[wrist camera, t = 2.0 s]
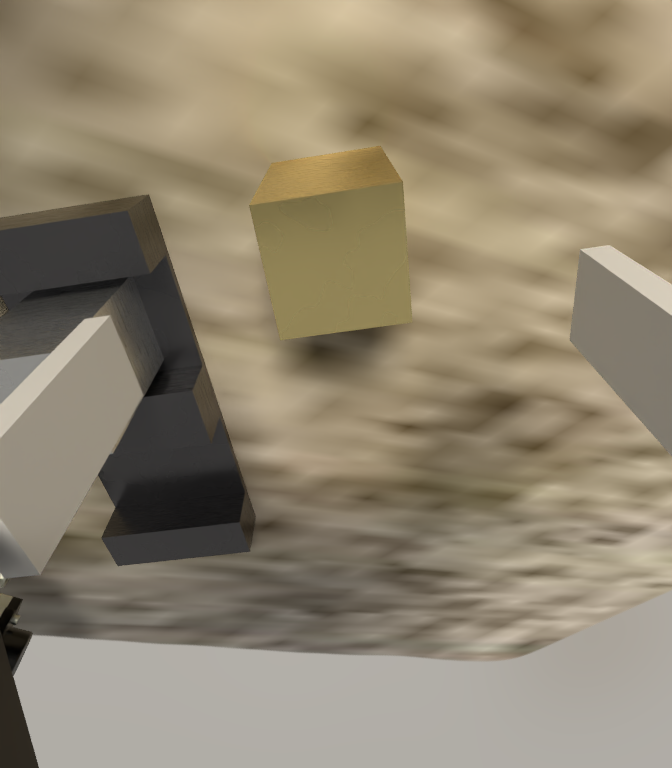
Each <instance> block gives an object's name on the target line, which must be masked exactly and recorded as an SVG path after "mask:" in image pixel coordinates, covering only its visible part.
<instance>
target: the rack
mask: <svg viewBox="0 0 672 768" xmlns="http://www.w3.org/2000/svg"><path fill="white" fill-rule="evenodd" d="M132 276H133V279H134V281H135V284H136V287H137V289H138V292H139V295H140V297H141V300H142V302H143V305H144V308H145V310H146V313H147V316H148V318H149V321H150V323H151V326H152V329H153V331H154V334H155V337H156V339H157V342H158V344H159V347H160V350H161V352H162V355H163V358H164V360H163V362H162V364H161V366H160V368H159V370H158V371H157V373H156V375H155V377H154V379H153V381H152V382H151V384H150V386H149V388H148V390H147V392H146V394H145V395H144V397H143V399H142V401H141V403H140V405H139V407H138V408H137V410H136V412H135V414H134V416H133V418H132V419H131V421H130V423H129V425H128V427H127V429H126V431H125V432H124V434H123V436H122V438H121V440H120V442H119V444H118V445H117V447H116V449H115V451H114V453H113V454H109V456H108V458H107V459H106V461H105V463H104V465H103V466H102V468H101V470H100V472H99V473H98V476H99V477H100V479H101V481H102V483H103V485H104V487H105V489H106V490H107V492H108V494H109V496H110V498H111V500H112V501H113V503H114V505H115V507H116V508H115V510H114V512H113V514H112V516H111V519H110V521H109V523H108V525H107V527H106V529H105V531H104V533H103V536H102V540H103V542H104V543H105V545H106V547H107V548H108V550H109V552H110V553H111V555H112V557H113V559H114V560H115V562H116V564H117V565H118V566H122V565H131V564H140V563H149V562H158V561H168V560H177V559H186V558H195V557H204V556H213V555H222V554H232V553H241V552H250V548H251V542H252V535H253V529H254V522H255V514H254V511H253V508H252V505H251V502H250V499H249V496H248V493H247V490H246V487H245V484H244V481H243V478H242V475H241V472H240V469H239V466H238V463H237V460H236V457H235V454H234V451H233V448H232V445H231V442H230V439H229V435H228V432H227V429H226V426H225V423H224V420H223V417H222V414H221V411H220V408H219V405H218V402H217V399H216V396H215V393H214V390H213V387H212V384H211V381H210V378H209V375H208V372H207V369H206V366H205V363H204V360H203V357H202V354H201V351H200V348H199V345H198V342H197V339H196V336H195V333H194V330H193V327H192V324H191V321H190V318H189V315H188V312H187V309H186V306H185V303H184V300H183V297H182V294H181V291H180V288H179V285H178V282H177V279H176V275H175V272H174V269H173V266H172V263H171V260H170V257H169V254H168V251H167V248H166V245H165V242H164V239H163V236H162V233H161V230H160V227H159V224H158V221H157V218H156V215H155V212H154V209H153V206H152V203H151V200H150V197H149V195H142V196H136V197H130V198H123V199H117V200H111V201H104V202H98V203H92V204H85V205H79V206H72V207H66V208H60V209H53V210H47V211H41V212H34V213H28V214H22V215H15V216H9V217H2V218H0V296H2V298H3V300H4V302H5V303H6V305H7V307H8V309H9V310H10V309H11V308H13V307H14V306H15V305H16V304H18V303H19V302H20V301H21V300H23V299H24V298H25V297H27V296H28V295H29V294H30V293H32V292H33V291H36V290H43V289H50V288H57V287H64V286H70V285H77V284H84V283H91V282H98V281H104V280H111V279H118V278H125V277H132Z"/></svg>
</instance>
